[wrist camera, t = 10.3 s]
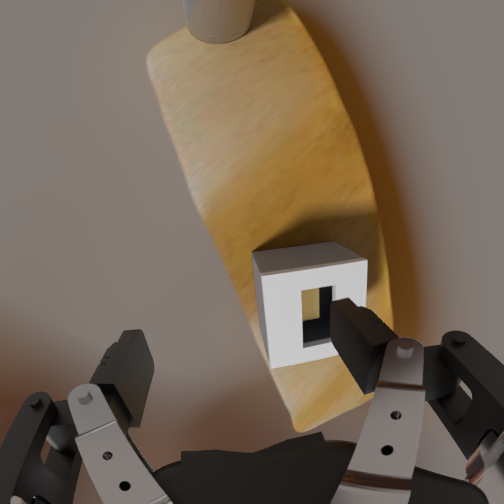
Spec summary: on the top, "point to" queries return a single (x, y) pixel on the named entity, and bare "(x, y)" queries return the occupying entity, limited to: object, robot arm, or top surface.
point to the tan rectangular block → (310, 304)
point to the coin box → (289, 297)
